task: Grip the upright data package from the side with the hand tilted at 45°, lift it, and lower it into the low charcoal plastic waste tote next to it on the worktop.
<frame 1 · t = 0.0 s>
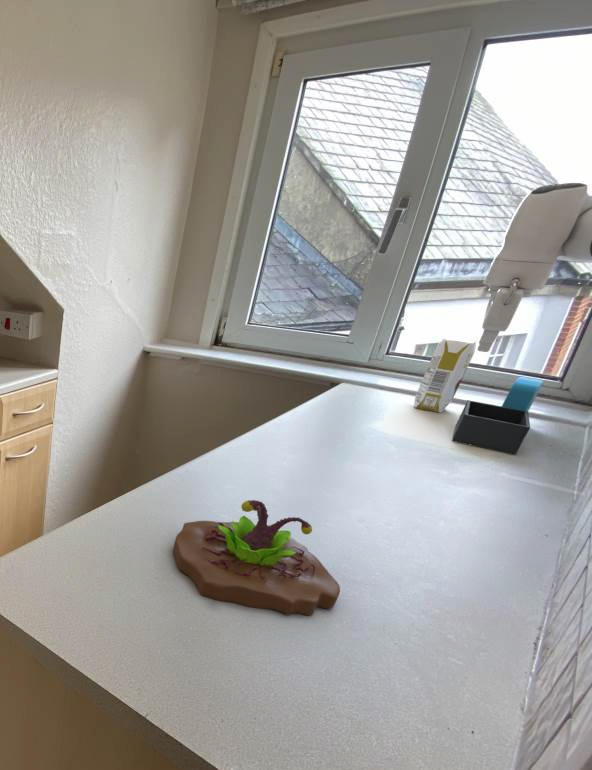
hand: (483, 347, 113), 23 cm above the counter, tool pointing down, fingers open, 8 cm apart
waste tote: (483, 438, 131), on the counter
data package: (505, 427, 140), on the counter
plant: (244, 570, 78), on the counter
juice carton: (429, 408, 153), on the counter
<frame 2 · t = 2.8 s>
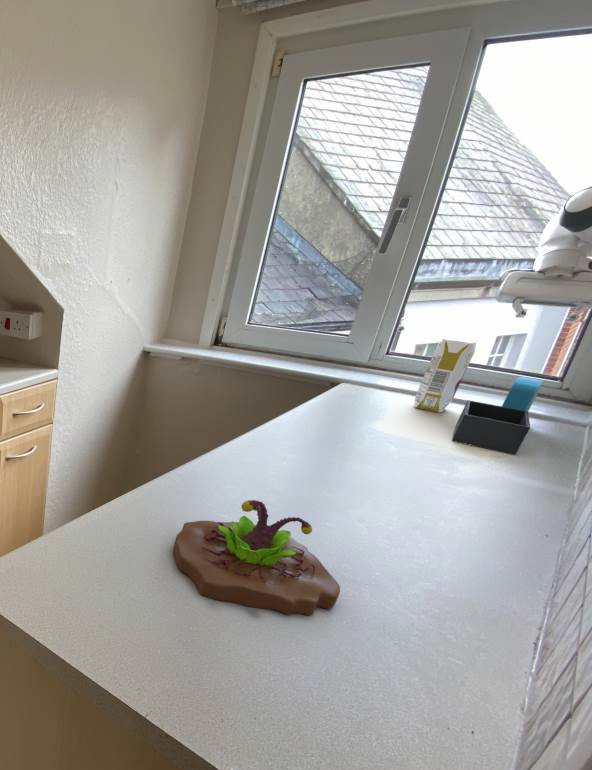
hand: (545, 318, 136), 26 cm above the counter, tool tilted 40°, fingers open, 8 cm apart
nothing on the counter moved.
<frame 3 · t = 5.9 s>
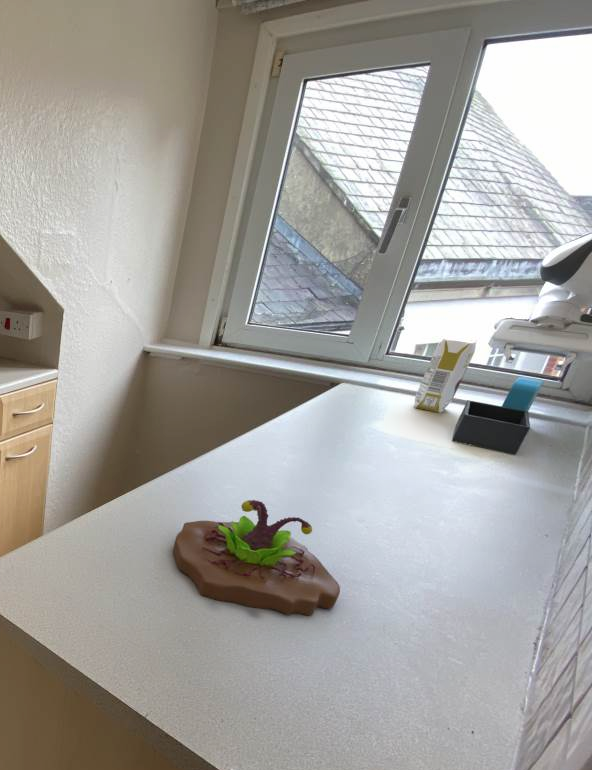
hand: (533, 365, 140), 14 cm above the counter, tool tilted 45°, fingers open, 8 cm apart
nothing on the counter moved.
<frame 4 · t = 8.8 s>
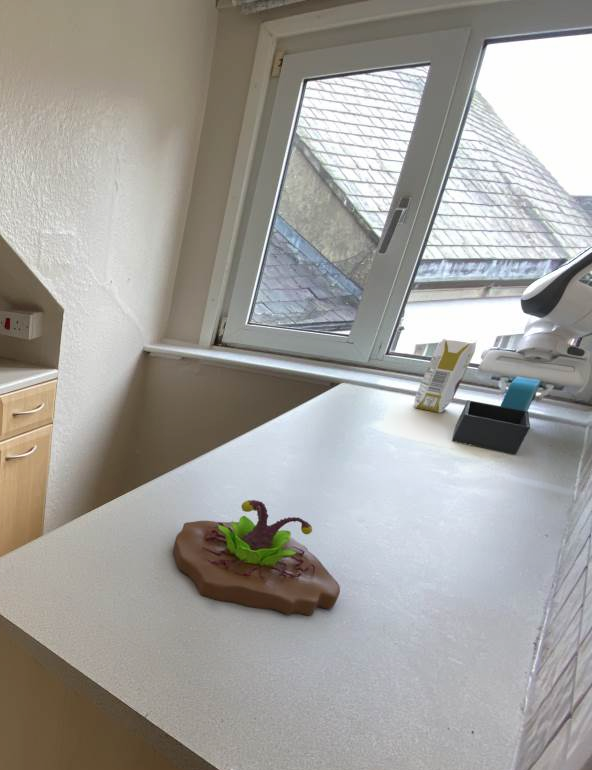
hand: (520, 397, 138), 7 cm above the counter, tool tilted 45°, fingers closed on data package, 5 cm apart
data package: (505, 427, 140), on the counter, touching gripper
everything else where it was.
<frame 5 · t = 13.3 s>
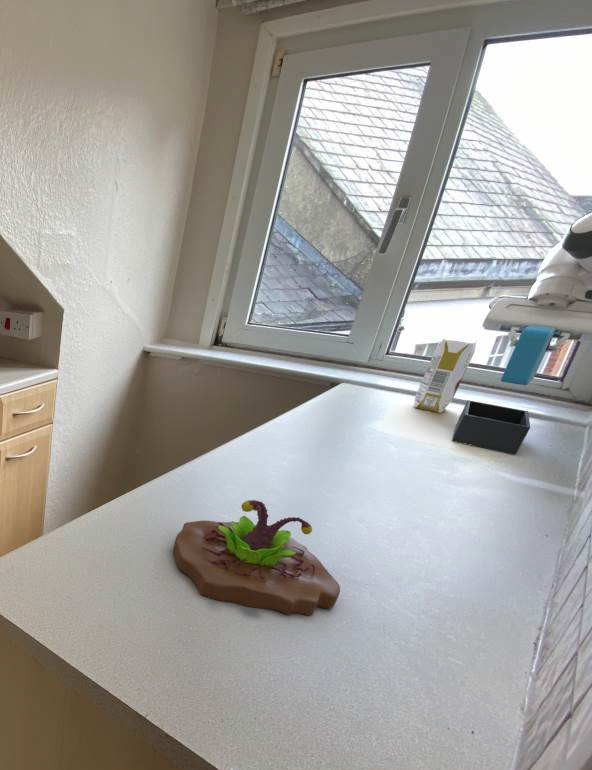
hand: (532, 348, 125), 21 cm above the counter, tool tilted 45°, fingers closed on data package, 5 cm apart
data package: (516, 381, 127), point 14 cm above the counter, touching gripper
everything else where it was.
when the fingers open (8 cm above the counter, at t = 17.8 s): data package stays where it is, resting on waste tote.
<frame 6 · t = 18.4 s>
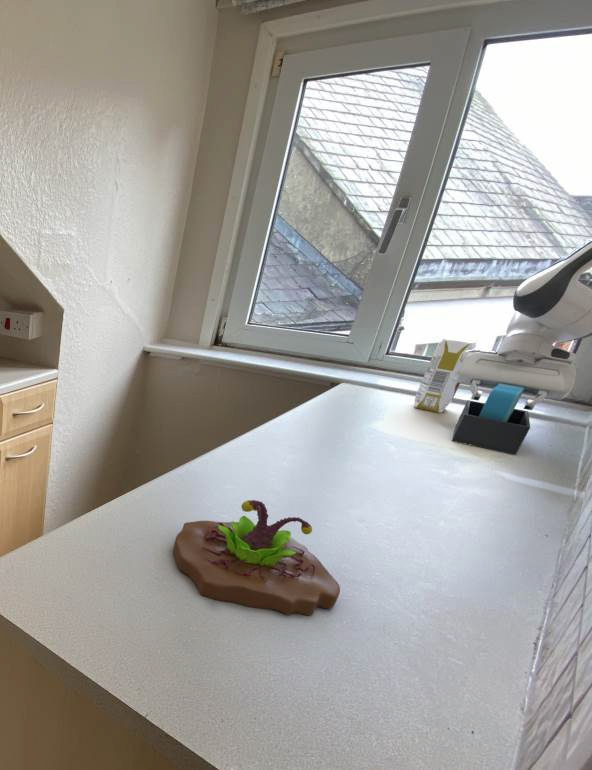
hand: (501, 403, 129), 9 cm above the counter, tool tilted 45°, fingers open, 8 cm apart
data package: (484, 437, 131), resting on waste tote
everything else where it was.
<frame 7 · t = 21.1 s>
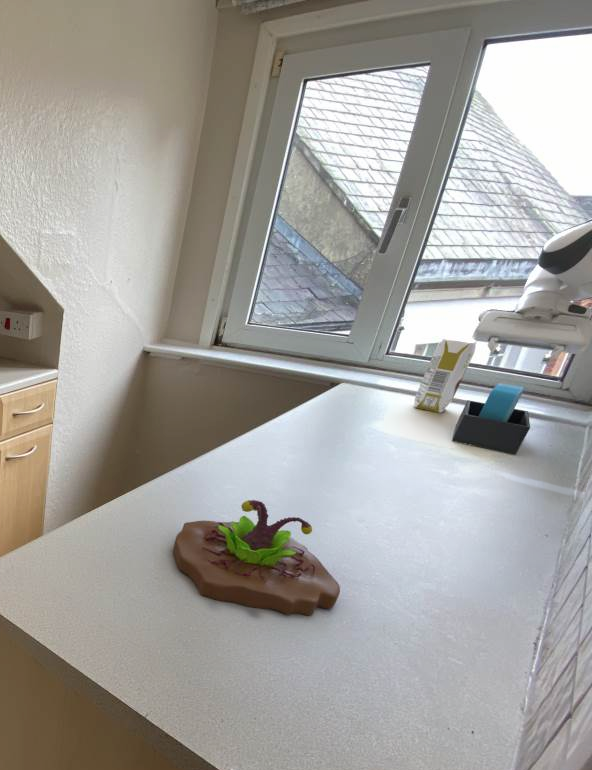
hand: (519, 358, 133), 17 cm above the counter, tool tilted 45°, fingers open, 8 cm apart
nothing on the counter moved.
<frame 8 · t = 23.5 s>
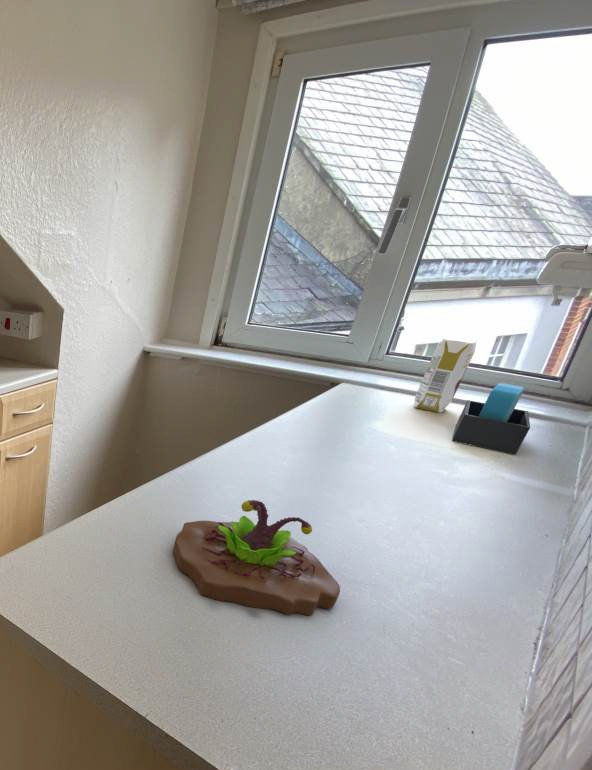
hand: (581, 308, 131), 29 cm above the counter, tool pointing down, fingers open, 8 cm apart
nothing on the counter moved.
at the end: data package inside the target area in the waste tote (0.1 cm from its centre), point 0.4 cm above the waste tote's base; the gripper is holding nothing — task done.
